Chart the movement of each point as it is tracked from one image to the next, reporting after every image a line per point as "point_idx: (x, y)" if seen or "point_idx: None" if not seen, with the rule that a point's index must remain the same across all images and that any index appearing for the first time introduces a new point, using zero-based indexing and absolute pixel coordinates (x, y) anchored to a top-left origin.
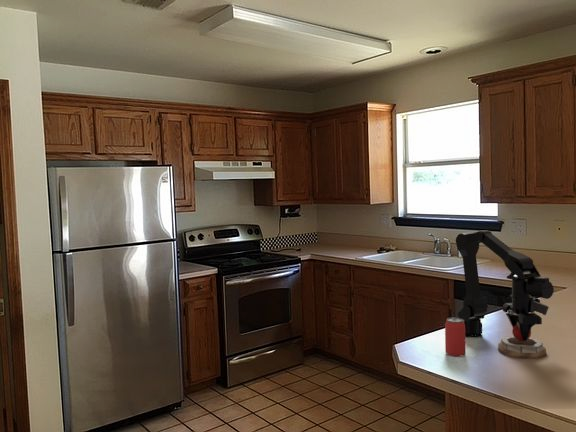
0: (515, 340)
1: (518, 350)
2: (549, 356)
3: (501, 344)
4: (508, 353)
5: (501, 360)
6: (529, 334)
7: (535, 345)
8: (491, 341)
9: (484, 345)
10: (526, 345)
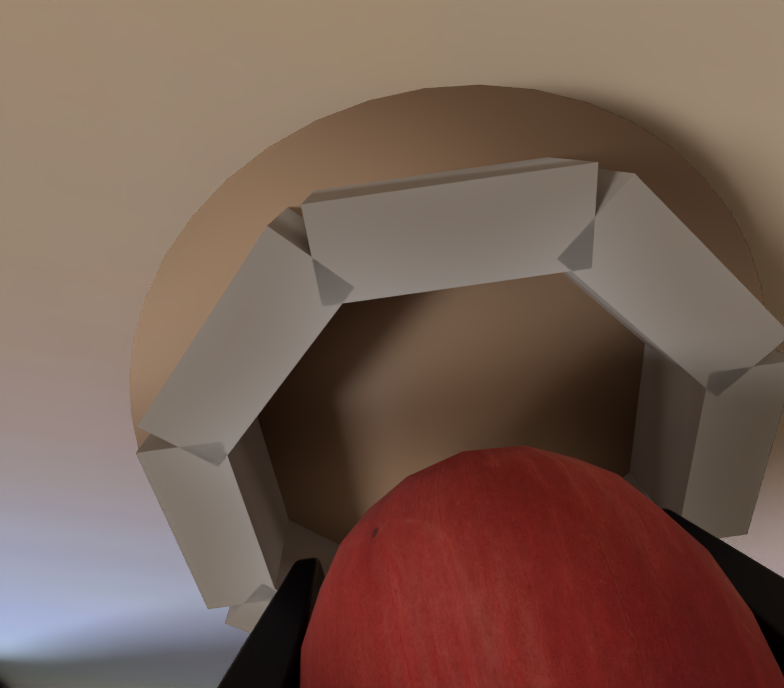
0: (267, 500)
1: None
2: (667, 90)
3: None
4: None
5: None
6: (706, 549)
7: (717, 345)
8: (126, 610)
9: None
10: (374, 364)
